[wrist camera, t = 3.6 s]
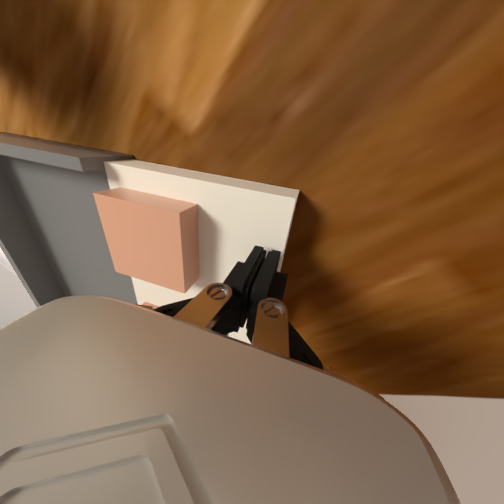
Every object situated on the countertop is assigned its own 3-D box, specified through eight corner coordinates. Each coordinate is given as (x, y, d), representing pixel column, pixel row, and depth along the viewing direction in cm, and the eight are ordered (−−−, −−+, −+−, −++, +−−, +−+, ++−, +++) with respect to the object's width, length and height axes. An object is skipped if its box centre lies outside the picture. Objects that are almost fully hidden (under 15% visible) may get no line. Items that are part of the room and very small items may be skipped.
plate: (133, 159, 15) (103, 161, 13) (299, 190, 13) (296, 198, 11) (161, 328, 25) (147, 345, 23) (258, 363, 23) (252, 385, 21)
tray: (2, 132, 18) (-72, 128, 14) (132, 155, 15) (78, 157, 12) (77, 299, 28) (44, 320, 25) (162, 330, 25) (138, 358, 22)
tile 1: (120, 187, 14) (92, 192, 12) (197, 203, 12) (179, 212, 11) (136, 259, 17) (115, 271, 15) (199, 277, 16) (184, 293, 14)
